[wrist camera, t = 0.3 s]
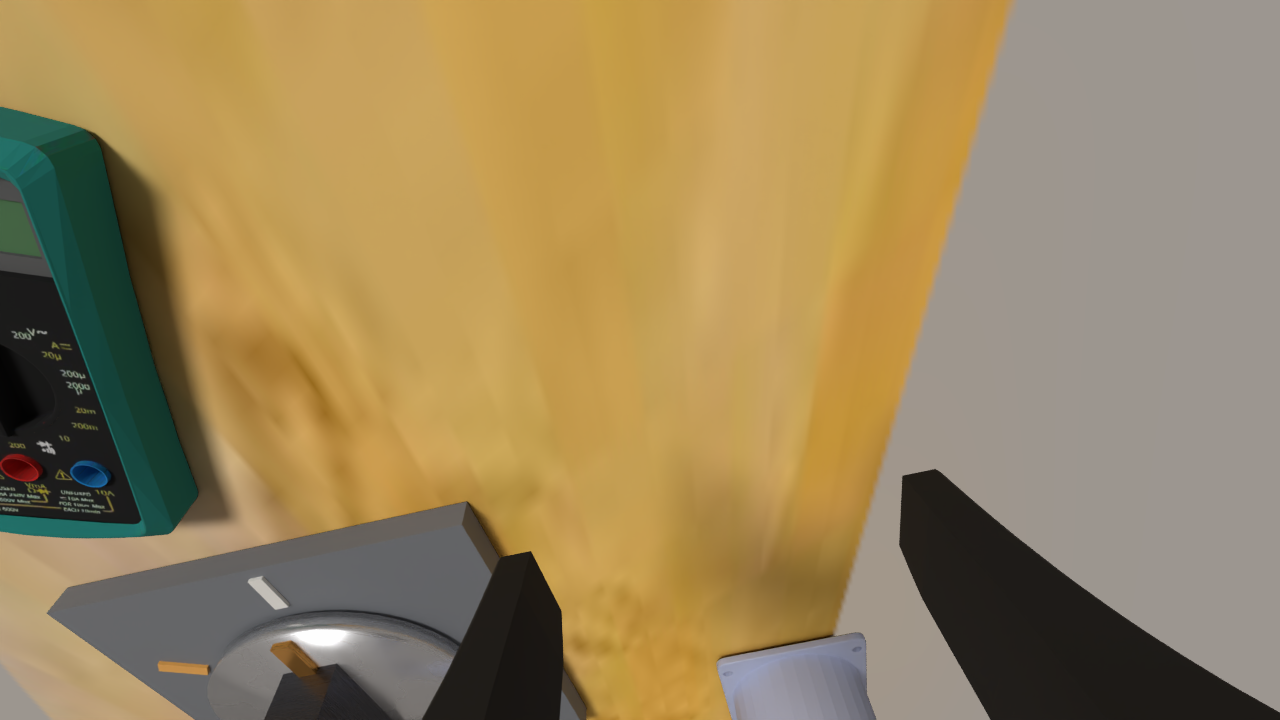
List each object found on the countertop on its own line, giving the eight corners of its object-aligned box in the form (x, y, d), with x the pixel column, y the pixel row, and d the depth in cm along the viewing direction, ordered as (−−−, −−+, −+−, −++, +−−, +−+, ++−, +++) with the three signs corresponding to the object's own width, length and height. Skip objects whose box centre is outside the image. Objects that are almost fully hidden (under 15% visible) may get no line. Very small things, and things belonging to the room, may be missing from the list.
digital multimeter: (-1, 481, 23) (-71, 545, 20) (-227, 57, 15) (-387, 77, 12) (211, 498, 24) (169, 560, 22) (110, 116, 16) (24, 145, 14)
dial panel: (586, 708, 34) (586, 733, 33) (295, 762, 36) (286, 788, 35) (466, 501, 24) (461, 527, 23) (67, 587, 26) (43, 616, 24)
